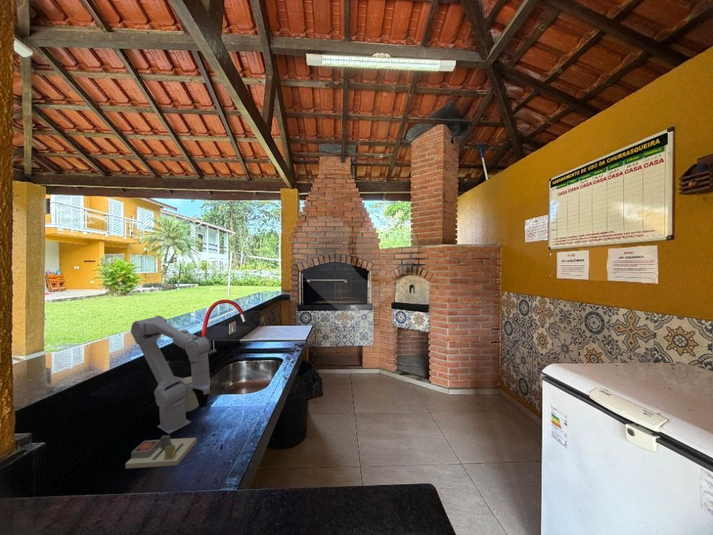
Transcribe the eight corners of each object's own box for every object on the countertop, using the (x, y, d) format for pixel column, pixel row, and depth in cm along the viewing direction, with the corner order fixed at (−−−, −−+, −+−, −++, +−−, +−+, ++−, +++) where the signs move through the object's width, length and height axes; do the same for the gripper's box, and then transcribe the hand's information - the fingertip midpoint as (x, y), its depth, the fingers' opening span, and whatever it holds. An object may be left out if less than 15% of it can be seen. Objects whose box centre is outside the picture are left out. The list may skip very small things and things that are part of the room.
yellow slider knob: (164, 458, 87) (163, 448, 87) (167, 454, 89) (167, 444, 89) (173, 458, 87) (172, 448, 87) (176, 454, 89) (175, 444, 89)
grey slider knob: (160, 448, 92) (159, 438, 92) (163, 444, 94) (163, 434, 94) (168, 447, 92) (167, 437, 92) (172, 443, 94) (171, 434, 94)
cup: (184, 402, 125) (182, 377, 125) (202, 401, 126) (200, 375, 125) (173, 413, 117) (171, 385, 116) (193, 411, 118) (191, 383, 117)
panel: (125, 468, 86) (124, 457, 86) (151, 444, 97) (150, 434, 97) (177, 465, 86) (176, 454, 86) (196, 441, 97) (196, 432, 97)
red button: (137, 456, 89) (136, 449, 89) (145, 448, 93) (145, 442, 93) (148, 455, 89) (147, 448, 89) (156, 447, 93) (155, 441, 93)
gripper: (183, 369, 105) (186, 403, 106) (193, 380, 94) (196, 418, 95) (203, 363, 110) (206, 396, 110) (215, 373, 99) (217, 410, 100)
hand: (203, 406), depth 103 cm, fingers closed
